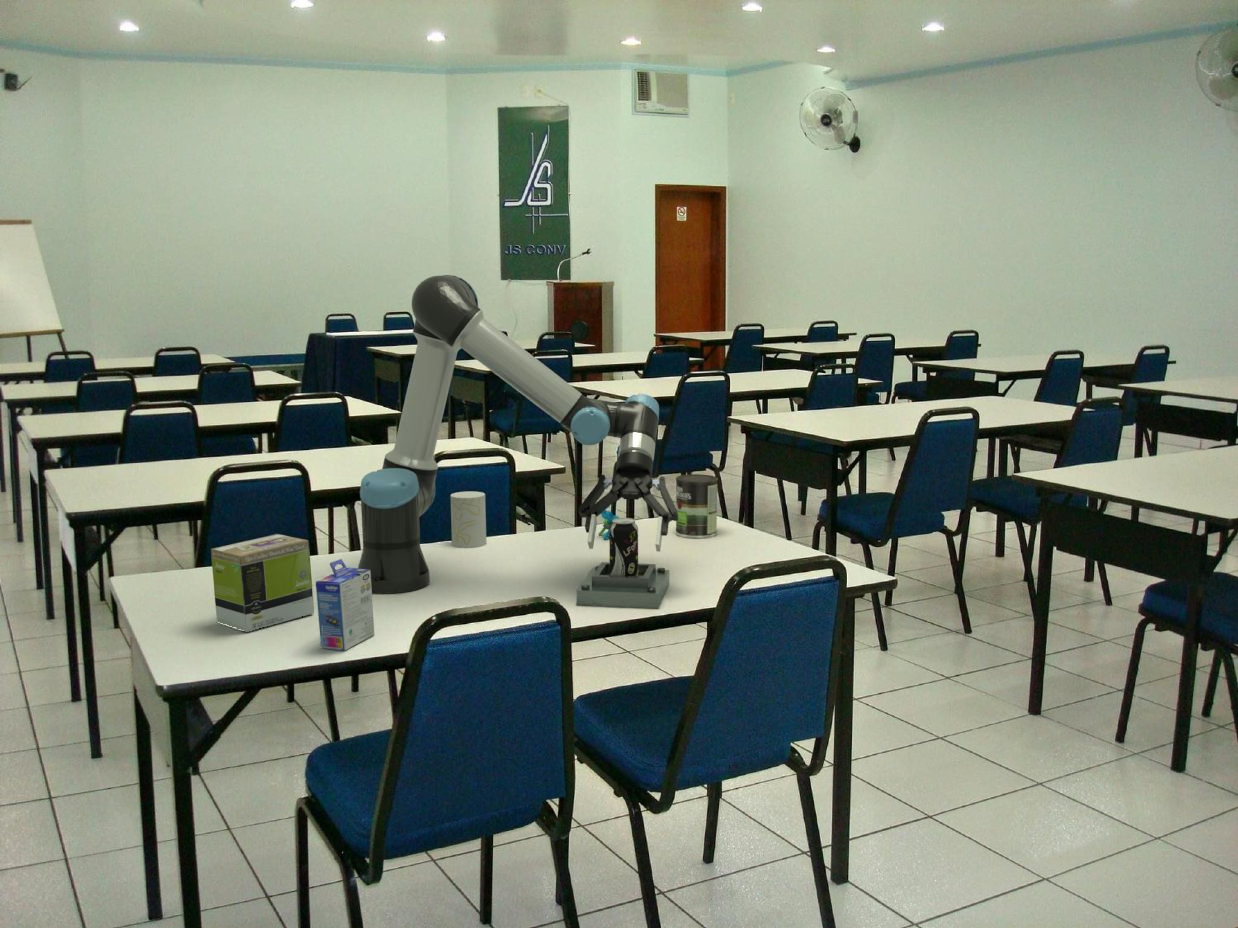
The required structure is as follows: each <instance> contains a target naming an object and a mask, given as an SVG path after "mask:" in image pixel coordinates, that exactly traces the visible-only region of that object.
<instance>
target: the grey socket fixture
mask: <svg viewBox="0 0 1238 928" xmlns="http://www.w3.org/2000/svg"><path fill="white" fill-rule="evenodd" d="M656 566H657V565H656V563H638V576H612V575H610V562H603V561H601V563H600V564H599V565H595V566H594V567H592V568H591V570H590V571H589V573H588V574H587V576H586V577H585V578H584V579H583V581H582V582H581V583H580V584H579V586H578V588H577V589H576V606H585V607H587V606H588V607H605V608H606V607H608V608H632V609H635V608H636V609H655V610H657V609H659V608H660V607H661V604H662V601H663V599H664V597H665V596H666V592H667V590H668V588H669V585H670V569H666V568H664V567H656ZM656 568H657V569H656Z"/></svg>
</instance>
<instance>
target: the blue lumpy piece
mask: <svg viewBox="0 0 1238 928" xmlns="http://www.w3.org/2000/svg"><path fill="white" fill-rule="evenodd" d="M600 515H601V517H602V518H603V519H604V520H603V522H602V523H603V524H602V527H603V528H602V529H601V530H600V531H599V533H598V535H599V536H600V535H601V534H602V535H603V534H604V535H603V536H602V535H601V536H602V538H603V539H604V540H605V539H606V540H607V539H608V538H609V529H610V526H611V524H612V523H613V522H612V520H613V519H616V518H620V517H619V516H618V515H616V514H615V515H614V514H613V512H611V511H610V510H607V509H605V510H604V511H603V512H602V513H601V514H600ZM606 530H607V531H606ZM605 531H606V532H605ZM604 532H605V533H604Z"/></svg>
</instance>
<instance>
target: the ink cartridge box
mask: <svg viewBox="0 0 1238 928" xmlns="http://www.w3.org/2000/svg"><path fill="white" fill-rule="evenodd" d="M338 565H341V566H342V567H341V568H338V569H336V566H338ZM329 566H330V568H331V570H332V574H329V575H327V576H325V577H323V578H321V579H319V580H317V581H315V590H316V591H315V592H316V602H317V616H318V625H319V628H318V629H319V639H320V647H322V649H328V650H335V651H341V652H344V651H347V650H348V649H351V648H353V647H354V646H356V645H357V644H359V643H362V642H363V641H364V640H366V639H367V640H368V639H369V638H371V637H372V636H374V635H375V623H374V620H375V619H374V606H373V605H374V604H373V592H372V588H371V573H370V570H369V569H359V568H358V567H357V568H356V567H347V566H346V564H345V562H344V560H343V559H342V558H340V559H338V560H335V561H333V562H330V563H329Z"/></svg>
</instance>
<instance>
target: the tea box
mask: <svg viewBox="0 0 1238 928" xmlns="http://www.w3.org/2000/svg"><path fill="white" fill-rule="evenodd" d="M210 555H211V567H212V568H211V570H212V579H213V589H214V590H213V591H214V594H213V595H214V602H215V603H214V605H215V613H216V622H217V621H218V622H220V623H223V624H227V625H229V626H232V627H236V628H237V629H241V630H244V631H245V632H244V633H246V632H247V633H249V632H248V631H250V632H252V631H251V630H254V629H257V630H260V629H259V628H261V629H263V628H262V627H264V628H268V627H270V626H274V624H275V625H277V624H281V623H285V622H288V621H292V620H296V619H299V618H302V616H303V617H306V616H309V615H313V614H315V606H314V595H313V579H312V578H313V577H312V567H311V554H310V541H309V540H308V539H303V538H299V537H294V536H293V537H292V536H289V535H284V534H280V533H275V534H271V535H267V536H263V537H258V538H254V539H250V540H244V541H241V542H235V543H231V544H228V545H223V546H219V547H214V548H210ZM218 622H217V623H218ZM267 626H268V627H267ZM254 631H255V630H254Z"/></svg>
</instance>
